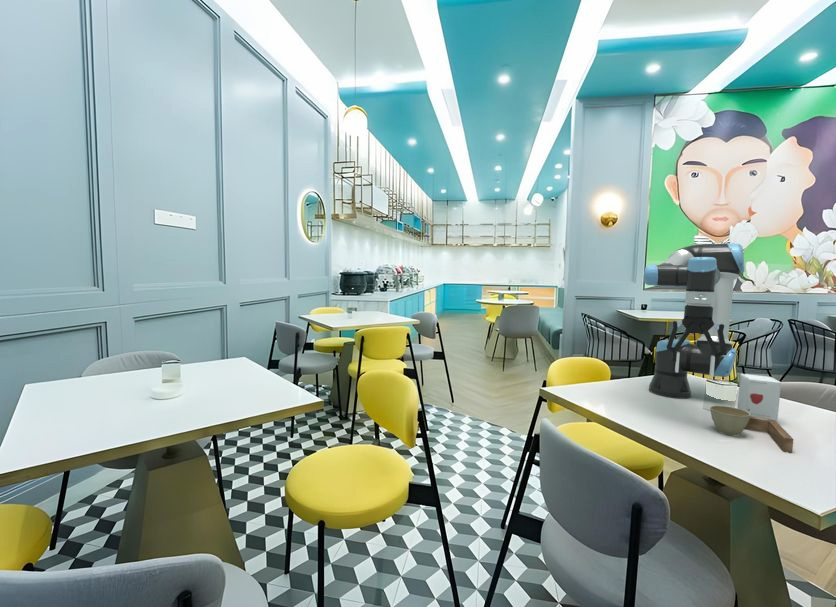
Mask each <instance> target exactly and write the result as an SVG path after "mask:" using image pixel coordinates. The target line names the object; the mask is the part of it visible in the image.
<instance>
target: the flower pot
mask: <svg viewBox="0 0 836 607" xmlns="http://www.w3.org/2000/svg"><path fill="white" fill-rule="evenodd" d="M709 410H710V415H711V419H712V422H713V423H714V424H713V425H714V426H715V428H716V430H717V431H718V432H720V433H722V434H724V435H728V436H739V435H740V434H741V433H742V432H743V431H744V430H745V429H744V428H745V427H746V425H747V423H748V421H749V419H750V415H751V414H750V413H749V412H747V411H744V410H741V409H738V408H737V407H734V406H727V405H712V406H709Z"/></svg>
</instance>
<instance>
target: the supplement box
mask: <svg viewBox="0 0 836 607" xmlns="http://www.w3.org/2000/svg"><path fill="white" fill-rule="evenodd" d="M739 378H740V379H739V386H738V387H739V388H738V399H737V407H736V408H738V409H741V410H744V411H747V412H749V413H750V414H751V415H750V416H752V417H758V418H764V419H771V420H776V421H777V422H778V419H779V410H780V409H779V408H780V396H781V388H782V382H781V381H780V380H777V379H776V378H774V377H772V376H765V375H757V374H746V373H740V377H739Z"/></svg>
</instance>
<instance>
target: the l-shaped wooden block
mask: <svg viewBox="0 0 836 607" xmlns="http://www.w3.org/2000/svg"><path fill="white" fill-rule="evenodd" d="M744 430H748V431H752V432H753V431H754V432H760V433H764V434H768V435H769V436H770V438H771V439H772V440H773V442H775V444H776V445H777V447H779V448H780V450H781V451H782V452H784V453H788V454H789V453H790V454H793V449H794V448H793V447H794V438H793V437H792V436H791V435H790V434H789V433H788V432H787V430H785V428H783V427H782V425H781V424H780V423H778V420H777V421H776V420H771V419H764V418H758V417H752V416H750V419H749V421H748V423H747V425H746V427H745V428H744Z"/></svg>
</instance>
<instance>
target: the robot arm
mask: <svg viewBox="0 0 836 607" xmlns="http://www.w3.org/2000/svg"><path fill="white" fill-rule="evenodd" d="M744 272H745V257H744V249H743V246H742V244H740V243H728V242H727V243H705V244H702V243H701V244H700V243H699V244H697V243H696V244H691V245H687V246H684V247H681V248H679V249H677V250H674V251H673V252H671V253H670V255H669V256H668V258H667V259H665V260H664V261H663V262H661V263H659V264H648V265H647V266H645V268H644V271H643V281H644V284H645V285H646V286H654V287H657V286H660V287H664V286H665V287H685V288H686V290H685V299H684V302H685V304H686V305H685V306H684V313H683V319H681V320H673V321H671V322H672V329H671V332H670V335H669V337H668V339H662V340H659V341H657V343H656V348H655V362H654V363H655V365H654V375H653V377H652V379H651V381H650V383H649V385H648V391H649V392H650V393H652V394H654V395H655V394H656V395H658V396H662V397H667V398H673V399H690V398H691V397H692V390H691V386H690V384H689V380H688V373H694V374H701V375H707V376H709V377H711V378H714V377H720V378H721V377H722V378H727V377H729V376H730V375H731V374H732V371H733V368H734V366H735V362H736V358H737V356H736V355H737V351H738V350H737V349H736V348H734V347H733V343H732V342H731V341H730V340H729V334H730V333H729V331H730V324H731V313H732V304H733V303H732V301H733V294H734V292H733V291H734V282H735V281H736V280H737V279H738V278H740V273H744ZM681 325H683V327H684V328H685V329H684V332H683V333H682V335H681V336H680V338H679V339H676V338H675V337H676V334H677V331H678V328H680V327H681ZM690 334H693V335H694V334H698V335H700V337H699V338H697V339H696V342H695V344H694V343H691V342H690V340H689V339H687V338H688V336H689V335H690Z"/></svg>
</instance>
